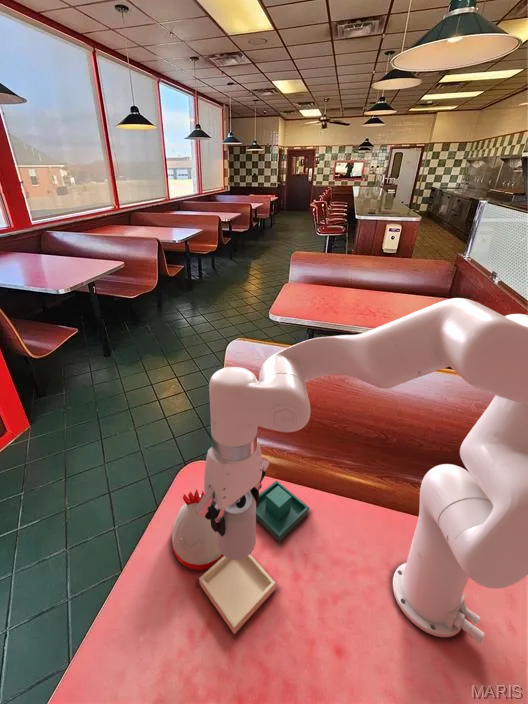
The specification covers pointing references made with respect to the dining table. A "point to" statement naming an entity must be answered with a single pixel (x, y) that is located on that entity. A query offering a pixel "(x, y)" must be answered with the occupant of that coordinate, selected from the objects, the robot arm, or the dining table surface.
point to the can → (239, 528)
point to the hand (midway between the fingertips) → (235, 515)
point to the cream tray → (237, 588)
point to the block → (278, 502)
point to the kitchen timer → (194, 536)
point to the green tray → (288, 520)
